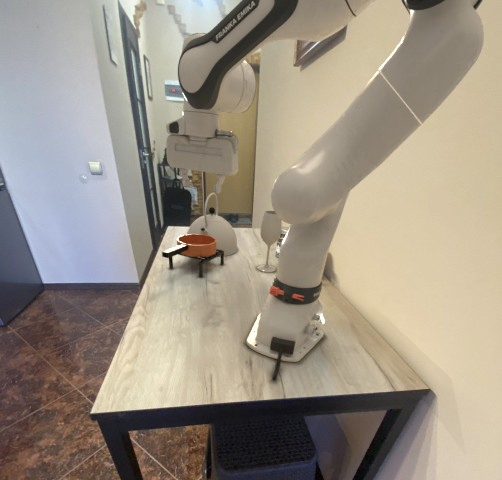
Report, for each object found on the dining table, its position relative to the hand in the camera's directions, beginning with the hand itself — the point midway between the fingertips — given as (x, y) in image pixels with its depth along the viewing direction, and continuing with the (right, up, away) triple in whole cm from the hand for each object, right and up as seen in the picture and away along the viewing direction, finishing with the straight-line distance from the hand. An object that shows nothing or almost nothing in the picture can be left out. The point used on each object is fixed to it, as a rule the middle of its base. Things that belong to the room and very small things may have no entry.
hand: (202, 190), depth 78 cm
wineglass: (+20, -14, +34) cm, 42 cm away
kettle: (-5, -1, +49) cm, 49 cm away
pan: (-9, -11, +23) cm, 27 cm away
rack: (-7, -14, +31) cm, 34 cm away
